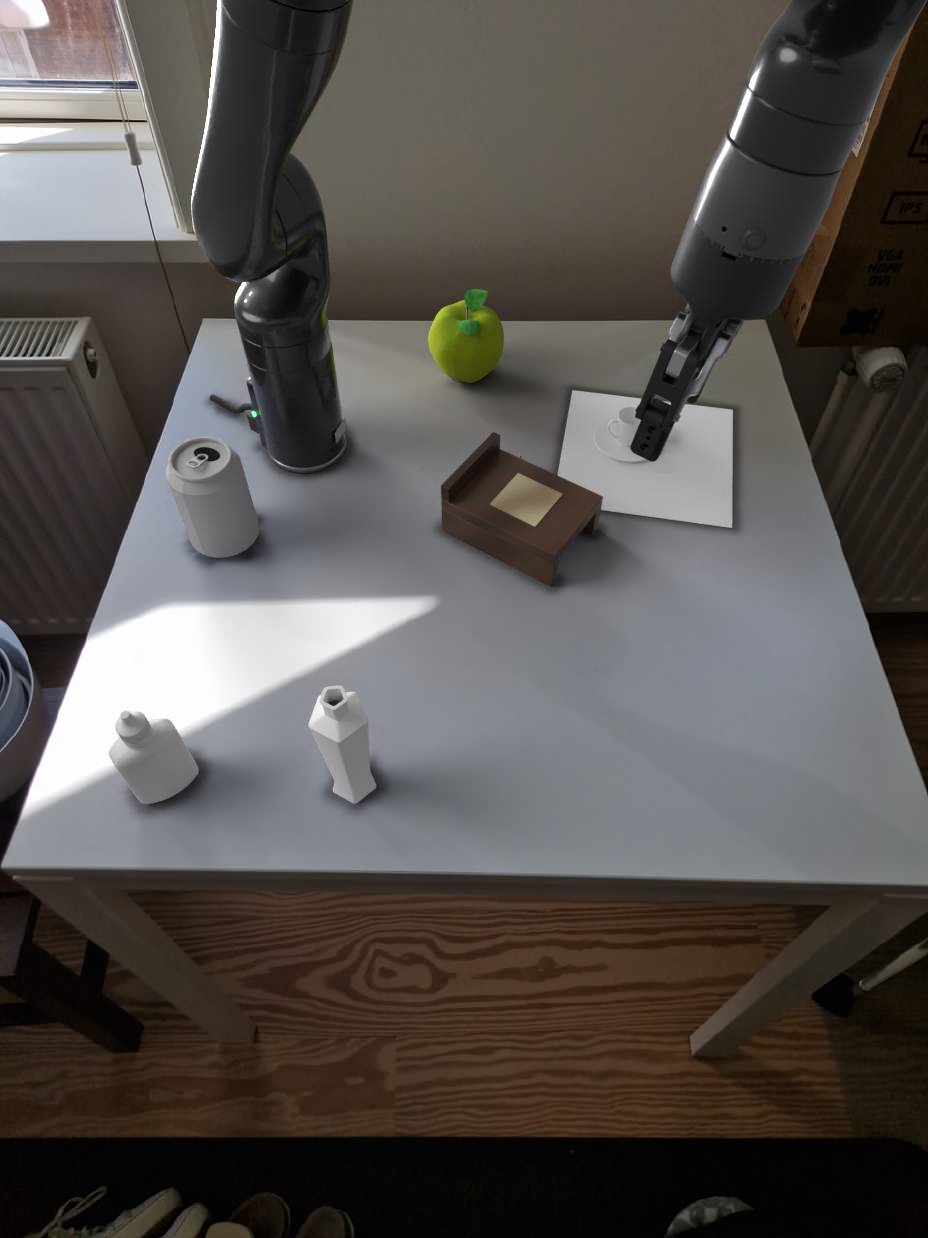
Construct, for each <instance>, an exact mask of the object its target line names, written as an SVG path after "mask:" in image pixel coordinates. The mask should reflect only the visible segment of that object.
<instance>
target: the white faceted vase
mask: <svg viewBox="0 0 928 1238" xmlns="http://www.w3.org/2000/svg"><path fill="white" fill-rule="evenodd" d="M308 728H309V730H310V733H311V734H312V737H313V738H314V741H315V743H316V746H317V747H318V750H319V751H320V753H321V756H322V758H323V760H324V762H325V765H326V766H327V769H328V770H329V773H330V775H331V776H332V779H333V781H334V782H333V787H332V792H333V793H334V794H335V795H337V796H339V797H341V798H342V799H345V800H346V801H347V802H350V803H352V804H354V805H356V804H359V802H360V801H362V800H363V799H364V798H366V797H367V796H368V795H369V794H370V793H372V792H373V791H374V790H376V788H377V783H376V781H375V778H374V776H373V773H372V771H371V758H370V757H371V755H370V735H369V733H370V732H369V718H368V716H367V714H366V711H365V709H364V706H363V704H362V702H361V700H360V697H359V695H358V693H357V692H355V691H346V689H345V687H344V686H343V685H330V686H325V687H324V688H323V689H322V691H321V694H320V695H318V697H317V698H316V702H315V704H314V708H313V710H312V713H311V716H310V719H309V721H308Z"/></svg>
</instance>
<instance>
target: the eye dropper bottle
mask: <svg viewBox="0 0 928 1238" xmlns="http://www.w3.org/2000/svg"><path fill="white" fill-rule="evenodd" d="M114 730H115V732H116V734H117V735H118V736H119V737H118V738H117V739H116V740H115V741H114V742H113V743H112V745H111V746H110V748H109V750H108V756H109V758H110V760H111V763H112V764H113V766H114V768H115V770H116V771H117V773H118V774H119V775H120V777H121V778H122V779H123V781H124V783H125V784H126V785H127V786H128V788H129V789H130V791H131V792H132V793H133V794H134V796H135V797H136V798H137V801H139V802H140V803H141V804H142V805H143V804H144V805H151V804H156V803H159V802H162V801H165V800H168V799H170V798H172V797H174V796H176V795H177V794H179V793H181V792H182V791H184V790H185V788H187V787H188V786H189V785H190V784H191V783H192V782H193V781H194V780H195V779H196V777H197V776H198V775H199V771H200V770H199V766H198V764H197V762H196V761H195V759H194V757H193V755H192V754H191V752H190V750H189V748H188V746H187V745H186V743H185V741H184V739H183V738H182V736H181V734H180V733H179V731H178V729H177V727H176V726H175V724H174V723H173V722H172V721H171V720H170V718H169V719H168V718H164V717H163V718H161V717H160V718H154V719H148V718H147V717H146V715H145V714H144V713H143V712H141V711H139V710H123V711H122V712H121V713H120V714H119V716H118V718H117V720H116V722H115V726H114Z"/></svg>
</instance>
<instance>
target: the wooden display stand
mask: <svg viewBox="0 0 928 1238" xmlns="http://www.w3.org/2000/svg"><path fill="white" fill-rule="evenodd" d="M501 437H502V436H501V434H499V433H498V432H495V431H492V432H491V433H490V434H489V435H488V436H487V437H486V438H485V439H484V440H483V441H482V442H481V443H480V445H478V447H477V448H476V449H475V450H474V451H473V452H471V454H470V455H469V456H468V457H467V458H466V459H465V460H464V461H463V462H462V463H461V464H460V465H459V466H458V467H457V468H456V469H455V470H454V471H453V472H452V474H450V476H449V477H447V478H446V480H444V481H443V482H442V484H441V485H440V501H441V503H440V504H441V531H442V532H444V533H445V534H448V535H449V536H451V537H454V538H455V539H457V540H459V541H461V542H462V543H465V544H467V545H469V546H471V547H473V548H474V549H476V550H478V551H481V552H483V553H484V554H487V555H488V556H490V557H493V558H494V559H496V560H498V561H500V562H502V563H504V564H506V565H508V566H509V567H512V568H513V569H515V570H518V571H519V572H522V573H524V574H526V575H528V576H530V577H531V578H533V579H535V580H537V581H539V582H540V583H543V584H545V585H547V586H548V587H553V586H554V584H555V583H556V582H557V580H558V574H559V568H560V562H561V561H560V560H561V558H562V557H563V555H564V553H566V552H567V550H568V549H569V548H570V546H571V545H572V543H573V542H574V541H575V540H576V539H577V537H578V536H579V535H580V534H581V532H582V531H584V532H586V533H588V534H589V535H593V534H594V533H595V532H596V531H597V529H598V526H599V521H600V517H601V511H602V510H601V506H602V500H603V496H601V495H599V494H597V493H594V492H592V491H590V490H588V489H586V488H584V487H581V486H579V485H577V484H575V483H573V482H571V481H568V480H566V479H564V478H562V477H560V476H558V474H555V473H553V472H551V471H549V470H548V469H547V470H546V469H545V468H543V467H540V466H538V465H536V464H534V463H531V462H530V461H527V460H526V459H525V460H524V459H523V458H521V457H519V456H517V455H515V454H512V453H510V452H508V451H506V450H503V449H501Z"/></svg>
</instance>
